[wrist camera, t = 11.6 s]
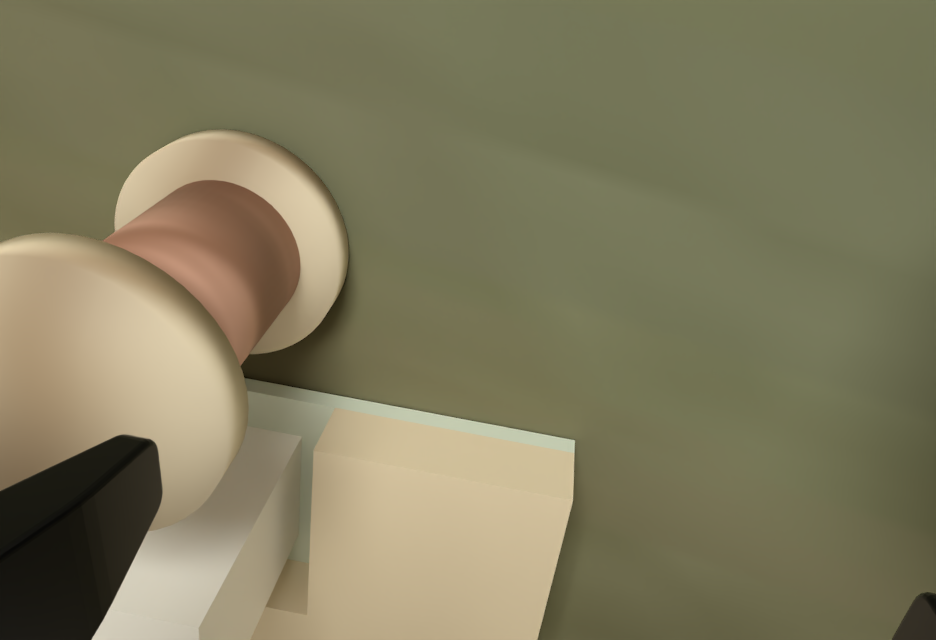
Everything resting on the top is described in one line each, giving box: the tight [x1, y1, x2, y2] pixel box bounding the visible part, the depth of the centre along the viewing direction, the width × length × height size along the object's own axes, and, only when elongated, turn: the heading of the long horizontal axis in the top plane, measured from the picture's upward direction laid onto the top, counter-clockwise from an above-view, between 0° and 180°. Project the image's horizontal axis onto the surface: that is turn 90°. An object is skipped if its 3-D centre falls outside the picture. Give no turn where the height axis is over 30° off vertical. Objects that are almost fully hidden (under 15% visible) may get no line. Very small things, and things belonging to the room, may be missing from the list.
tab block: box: [92, 426, 302, 640], centre depth 21 cm, size 4×4×7 cm
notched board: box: [244, 378, 575, 640], centre depth 24 cm, size 20×9×3 cm, turn 83°
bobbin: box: [0, 129, 349, 531], centre depth 18 cm, size 6×6×8 cm
